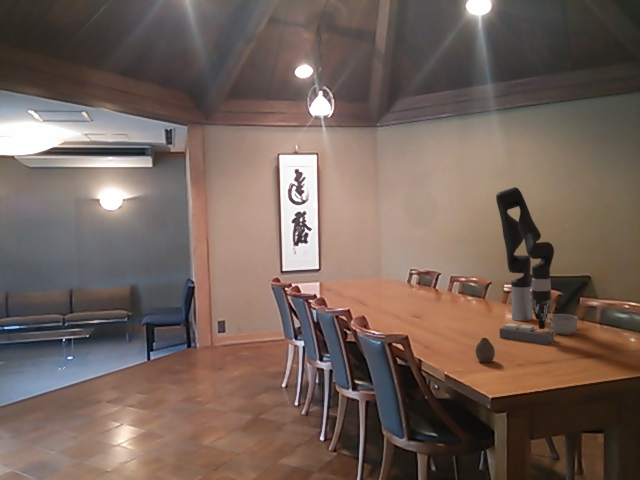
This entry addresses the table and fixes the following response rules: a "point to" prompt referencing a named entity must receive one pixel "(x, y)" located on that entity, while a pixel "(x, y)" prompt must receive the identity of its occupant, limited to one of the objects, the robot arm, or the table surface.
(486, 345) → the vase
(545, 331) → the key terracotta
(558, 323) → the teacup
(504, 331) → the keypad
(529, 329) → the key grey
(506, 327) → the key ivory
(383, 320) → the table surface
